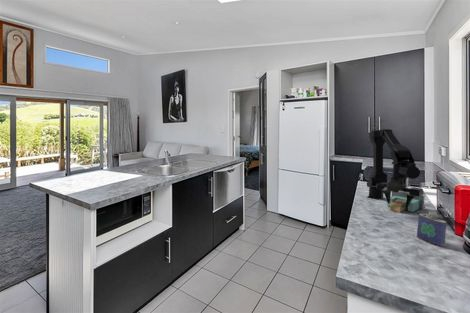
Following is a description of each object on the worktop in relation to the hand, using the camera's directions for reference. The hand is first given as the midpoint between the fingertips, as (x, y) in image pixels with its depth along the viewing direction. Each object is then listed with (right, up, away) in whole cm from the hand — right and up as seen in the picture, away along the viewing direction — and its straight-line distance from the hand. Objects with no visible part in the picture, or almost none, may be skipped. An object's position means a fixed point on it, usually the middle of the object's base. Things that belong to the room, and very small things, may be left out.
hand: (397, 205), depth 120 cm
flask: (-10, -7, -32) cm, 35 cm away
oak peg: (+1, -3, +2) cm, 4 cm away
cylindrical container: (+28, +2, +38) cm, 47 cm away
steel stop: (+9, -2, +7) cm, 12 cm away
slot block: (+5, -2, +4) cm, 7 cm away
